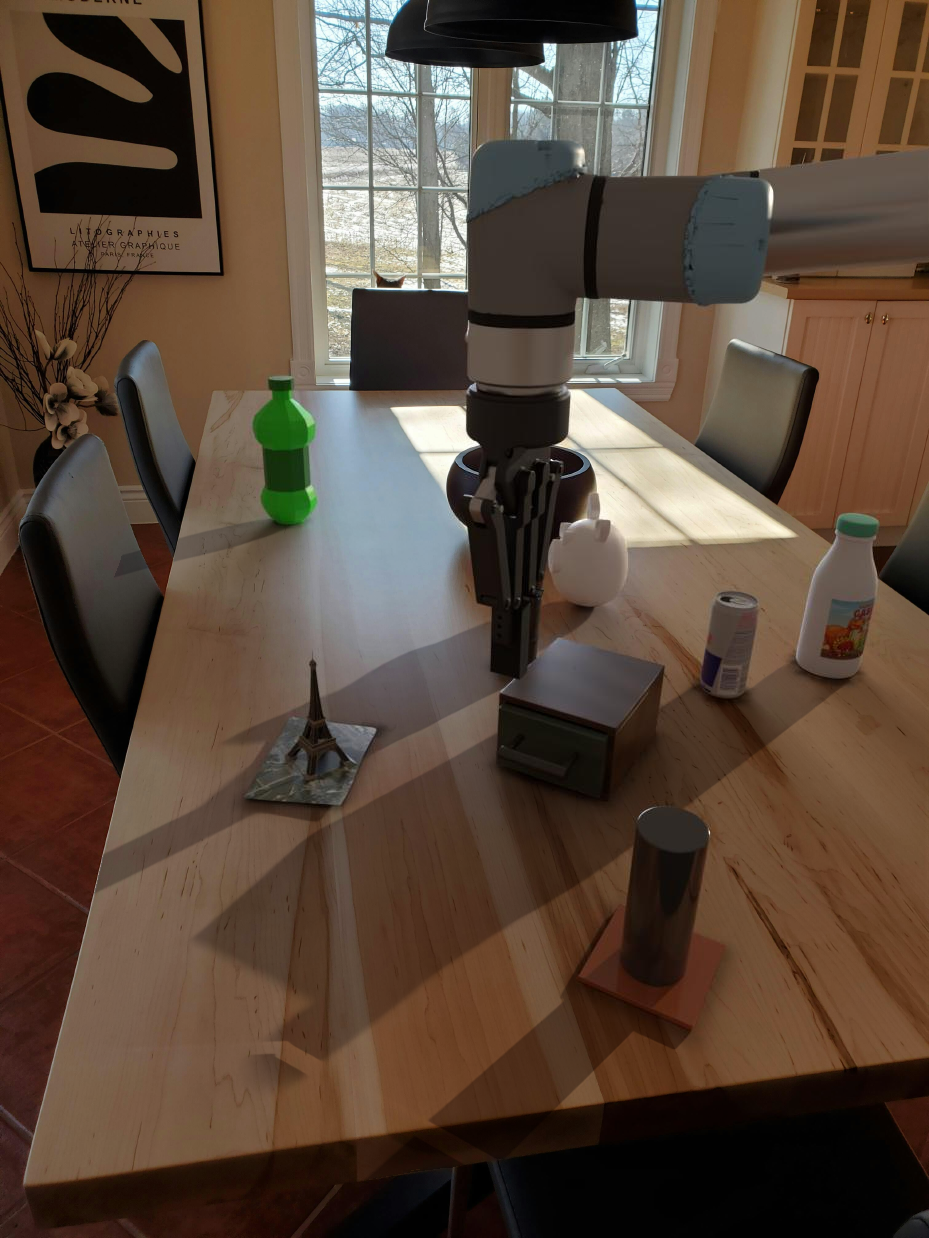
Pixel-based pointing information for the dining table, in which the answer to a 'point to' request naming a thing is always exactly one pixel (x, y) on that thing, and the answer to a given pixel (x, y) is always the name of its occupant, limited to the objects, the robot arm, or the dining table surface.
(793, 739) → the dining table surface
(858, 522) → the milk bottle
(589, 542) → the piggy bank
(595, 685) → the cabinet
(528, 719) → the drawer
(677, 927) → the dark grey cylinder
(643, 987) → the coaster
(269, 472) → the plastic bottle
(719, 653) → the energy drink
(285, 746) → the eiffel tower figurine
